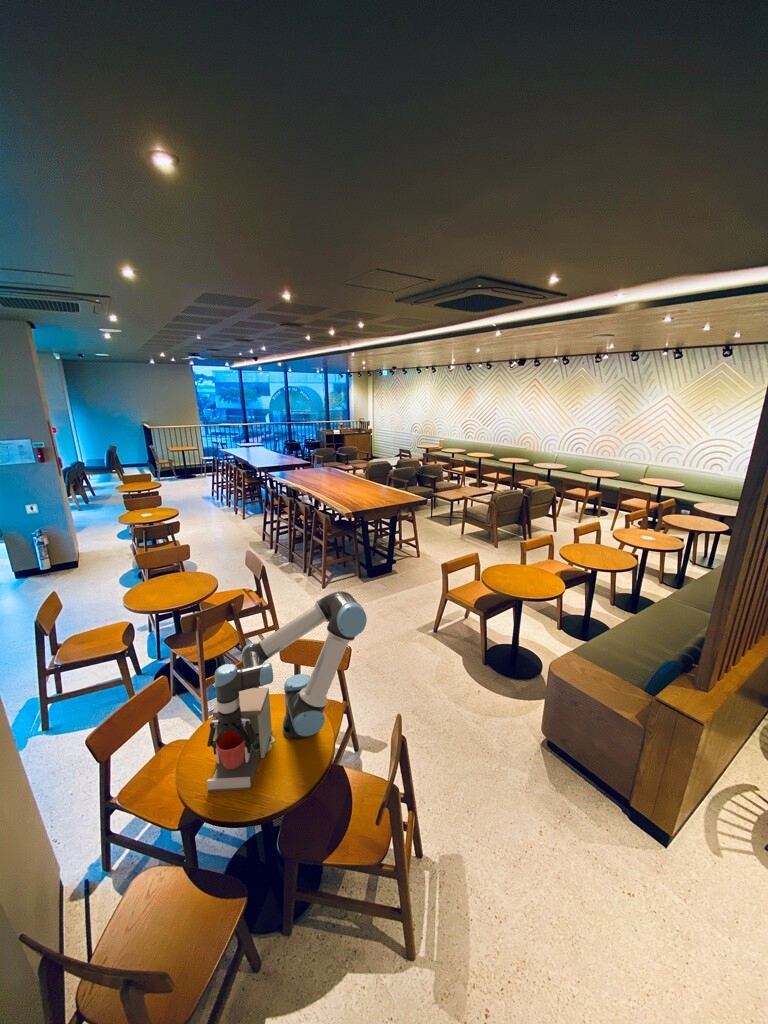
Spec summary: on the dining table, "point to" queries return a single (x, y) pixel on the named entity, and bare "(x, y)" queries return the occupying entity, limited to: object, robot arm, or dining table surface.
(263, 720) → the beige open box
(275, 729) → the dining table surface
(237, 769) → the tray
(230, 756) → the flower pot
